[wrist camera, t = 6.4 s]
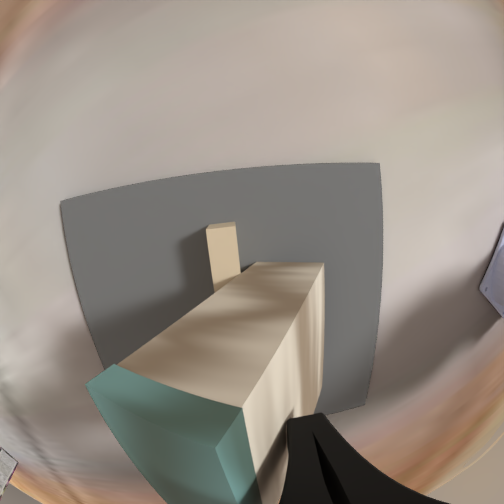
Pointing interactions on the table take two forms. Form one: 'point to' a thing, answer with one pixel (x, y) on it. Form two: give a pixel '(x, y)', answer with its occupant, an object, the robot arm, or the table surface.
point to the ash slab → (222, 388)
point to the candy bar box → (6, 470)
